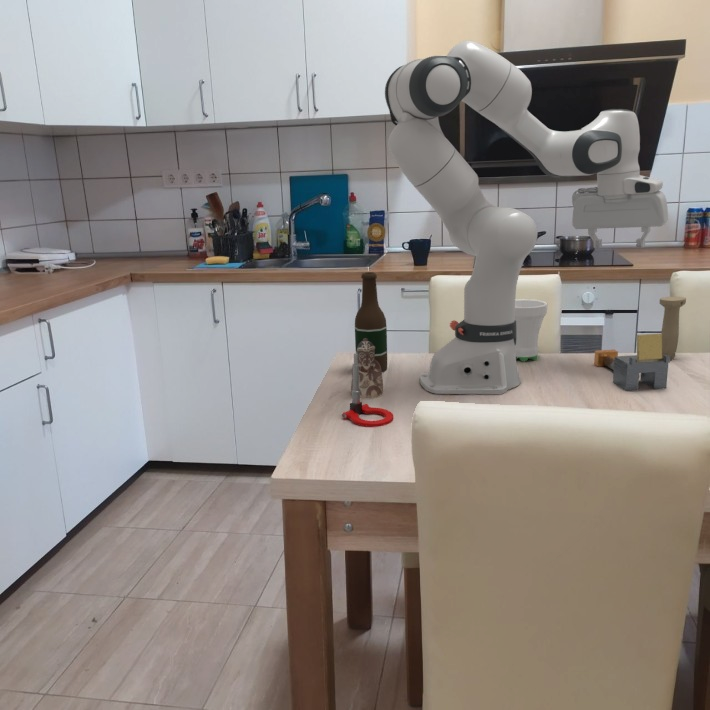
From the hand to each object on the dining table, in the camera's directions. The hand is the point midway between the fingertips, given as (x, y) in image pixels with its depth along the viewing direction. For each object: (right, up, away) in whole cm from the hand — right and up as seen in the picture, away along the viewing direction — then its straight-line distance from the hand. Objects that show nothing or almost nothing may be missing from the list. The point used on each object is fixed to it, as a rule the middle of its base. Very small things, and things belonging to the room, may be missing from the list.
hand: (618, 247), depth 154 cm
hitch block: (+2, -31, -7) cm, 32 cm away
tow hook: (-57, -37, -21) cm, 72 cm away
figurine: (-58, -33, -6) cm, 67 cm away
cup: (-18, -26, +18) cm, 36 cm away
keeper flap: (+1, -23, -13) cm, 27 cm away
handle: (+17, -26, +12) cm, 33 cm away
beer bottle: (-56, -29, +12) cm, 64 cm away
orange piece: (+1, -28, +4) cm, 29 cm away
